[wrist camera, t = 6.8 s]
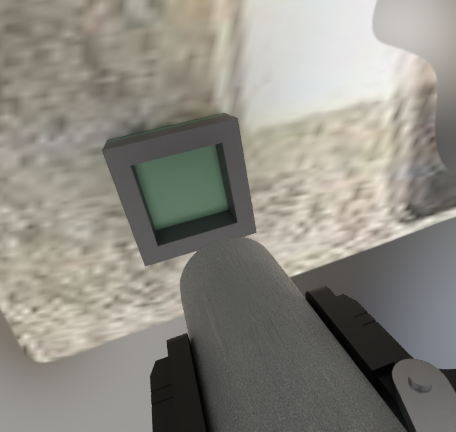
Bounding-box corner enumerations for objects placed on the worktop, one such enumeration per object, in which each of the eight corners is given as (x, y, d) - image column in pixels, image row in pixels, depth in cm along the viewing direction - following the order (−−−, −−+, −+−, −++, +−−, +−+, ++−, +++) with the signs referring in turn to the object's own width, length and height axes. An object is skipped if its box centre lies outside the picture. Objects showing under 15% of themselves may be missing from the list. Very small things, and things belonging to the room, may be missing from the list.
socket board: (107, 140, 25) (102, 150, 22) (224, 113, 27) (237, 118, 23) (144, 244, 30) (145, 266, 26) (242, 215, 31) (256, 232, 28)
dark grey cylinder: (248, 216, 13) (490, 512, 4) (288, 284, 15) (504, 578, 6) (158, 272, 13) (208, 695, 4) (210, 333, 15) (319, 701, 6)
